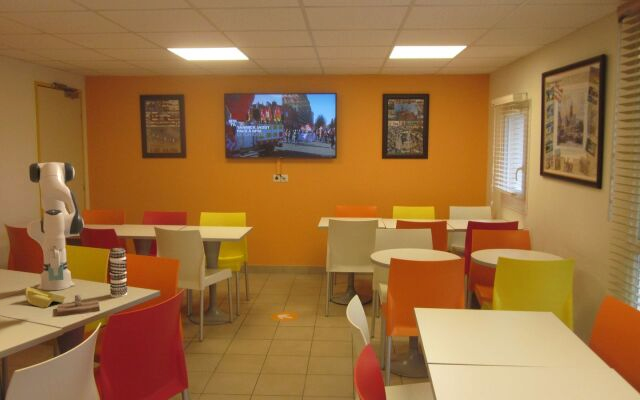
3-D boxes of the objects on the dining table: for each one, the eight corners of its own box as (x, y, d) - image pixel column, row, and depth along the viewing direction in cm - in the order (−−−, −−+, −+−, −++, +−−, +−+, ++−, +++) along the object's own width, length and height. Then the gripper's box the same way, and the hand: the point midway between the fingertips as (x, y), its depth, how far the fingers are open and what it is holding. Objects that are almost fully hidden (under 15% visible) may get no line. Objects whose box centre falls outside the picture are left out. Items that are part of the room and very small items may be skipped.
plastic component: (67, 297, 255) (52, 293, 247) (61, 311, 253) (46, 308, 244) (40, 290, 263) (24, 286, 254) (34, 304, 261) (18, 300, 252)
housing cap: (49, 278, 238) (48, 263, 238) (63, 276, 241) (62, 262, 240) (48, 281, 233) (48, 266, 232) (63, 279, 236) (62, 265, 235)
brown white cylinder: (123, 291, 275) (122, 246, 273) (131, 294, 269) (129, 248, 266) (106, 294, 269) (105, 248, 266) (114, 298, 262) (112, 251, 260)
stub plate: (57, 308, 245) (57, 294, 244) (97, 303, 253) (97, 289, 252) (57, 316, 233) (56, 301, 233) (99, 310, 242) (99, 296, 241)
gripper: (61, 248, 227) (63, 277, 229) (62, 240, 246) (64, 268, 247) (46, 249, 225) (47, 279, 226) (48, 241, 243) (49, 269, 244)
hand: (56, 273), depth 237 cm, fingers closed on housing cap, 6 cm apart
